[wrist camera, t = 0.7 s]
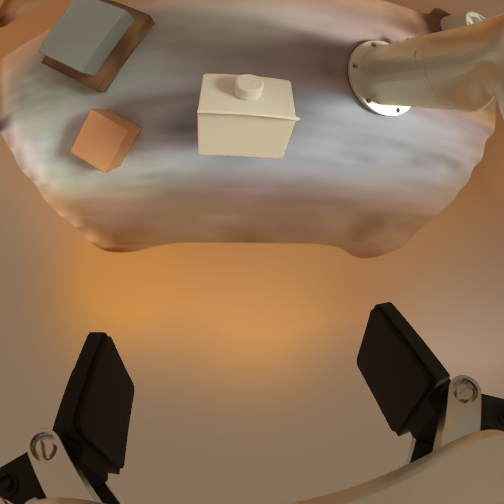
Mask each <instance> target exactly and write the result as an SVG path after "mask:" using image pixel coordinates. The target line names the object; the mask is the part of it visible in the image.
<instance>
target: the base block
mask: <svg viewBox="0 0 504 504" xmlns="http://www.w3.org/2000/svg"><path fill="white" fill-rule="evenodd" d="M99 1H102V2H105V3H108V4H111V5H113V6H116V7H119V8H121V9H124V10H126V11H127V12H128V13H129V14H130V15H131V16H132V17H133V19H134V20H135V21H134V22H133V24H132V25H131V26H130V27H129V29H128V30H127V31H126V32H125V34H124V35H123V36H122V37H121V39H120V40H119V41H118V43H117V44H116V46H115V47H114V48H113V50H112V51H111V52H110V54H109V55H108V57H107V58H106V60H105V61H104V63H103V64H102V66H101V67H100V69H99V70H98V72H97V73H96V75H95V76H92V75H89V74H86V73H82V72H80V71H78V70H76V69H74V68H72V67H70V66H68V65H66V64H64V63H62V62H59V61H57V60H55V59H53V58H51V57H49V56H47V55H45V57H44V59H43V60H42V62H41V63H43V64H45V65H47V66H49V67H51V68H53V69H55V70H57V71H59V72H61V73H63V74H65V75H67V76H69V77H71V78H73V79H75V80H77V81H79V82H81V83H83V84H85V85H87V86H89V87H91V88H93V89H94V90H97V91H102V92H106V91H107V89H108V88H109V86H110V84H111V83H112V81H113V80H114V78H115V76H116V75H117V73H118V72H119V70H120V69H121V67H122V66H123V65H124V63H125V62H126V60H127V59H128V57H129V56H130V55H131V53H132V52H133V51H134V49H135V48H136V47H137V45H138V44H139V43H140V41H141V40H142V39H143V37H144V36H145V35H146V34H147V32H148V31H149V30H150V29H151V28H152V26H153V25H154V24H155V22H154V21H153V20H152V18H151V17H150V15H147V14H145V13H143V12H140V11H138V10H135V9H133V8H130V7H128V6H125V5H122V4H119V3H117V2H114V1H110V0H99Z"/></svg>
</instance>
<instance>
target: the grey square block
mask: <svg viewBox="0 0 504 504" xmlns="http://www.w3.org/2000/svg"><path fill="white" fill-rule="evenodd" d="M134 21H135V20H134V19H133V17H132V16H131V15H130V14H129V13H128V12H127V11H126V10H124V9H121V8H119V7H116V6H113V5H111V4H108V3H105V2H102V1H99V0H73V2H72V3H71V4H70V6H69V7H68V8H67V9H66V11H65V12H64V13H63V15H62V16H61V18H60V19H59V20H58V22H57V23H56V25H55V26H54V28H53V29H52V31H51V32H50V34H49V35H48V37H47V38H46V40H45V41H44V43H43V45H42V46H41V48H40V50H39V51H38V52H40V53H42V54H44V55H47V56H49V57H51V58H53V59H55V60H57V61H59V62H62V63H64V64H66V65H68V66H70V67H72V68H74V69H76V70H78V71H80V72H82V73H86V74H89V75H92V76H95V75H96V73H97V72H98V70H99V69H100V67H101V66H102V64H103V63H104V61H105V60H106V58H107V57H108V55H109V54H110V52H111V51H112V50H113V48H114V47H115V46H116V44H117V43H118V41H119V40H120V39H121V37H122V36H123V35H124V34H125V32H126V31H127V30H128V29H129V27H130V26H131V25H132V24H133V22H134Z"/></svg>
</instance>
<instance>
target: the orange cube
mask: <svg viewBox="0 0 504 504" xmlns="http://www.w3.org/2000/svg"><path fill="white" fill-rule="evenodd" d="M140 130H141V128H139V127H137V126H136V125H134V124H132V123H131V122H129V121H127V120H125V119H124V118H122V117H120V116H119V115H117V114H115V113H113V112H112V111H110V110H98V109H91V111H90V113H89V115H88V116H87V118H86V120H85V122H84V124H83V126H82V128H81V130H80V132H79V134H78V136H77V138H76V140H75V143H74V145H73V147H72V149H71V151H70V152H71V153H73V154H75V155H76V156H78V157H80V158H81V159H83V160H84V161H86V162H88V163H89V164H91V165H93V166H94V167H96V168H97V169H99V170H101V171H102V172H104V173H107V172H109V171H111V170H112V169H114V168H116V167H118V166H120V165H121V163H122V162H123V160H124V158H125V156H126V154H127V152H128V151H129V149H130V147H131V145H132V144H133V142H134V140H135V138H136V137H137V135H138V133H139V132H140Z"/></svg>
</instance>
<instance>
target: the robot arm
mask: <svg viewBox="0 0 504 504" xmlns="http://www.w3.org/2000/svg"><path fill="white" fill-rule="evenodd" d="M353 66H354V68H353ZM348 77H349V81H350V85H351V87H352V89H353V91H354V93H355V95H356V96H357V98H358V99H359V100H360V101H361V102H362V104H363V105H364V106H366V107H367V108H368V109H369V110H371V111H373V112H375V113H377V114H380V115H384V116H397V115H401V114H403V113H405V112H406V111H407V110H408V109H409V108H410V107H418V108H432V109H443V110H452V111H460V112H476V111H479V110H481V109H483V108H484V107H486V106H487V105H488V104H489V103H490V102H491V101H492V100H493V99H494V97H496V99H497V101H498V104H499V107H500V110H501V114H502V116H503V119H504V14H502V15H498V16H495V17H492V18H489V19H486V20H483V21H480V22H477V23H473V24H470V25H467V26H463V27H458V28H454V29H449V30H445V31H440V32H435V33H431V34H427V35H422V36H418V37H414V38H411V39H409V38H407V39H406V40H403V41H400V42H396V43H393V44H390V43H387V42H385V41H380V40H371V41H367V42H364V43H362V44H360V45H359V46H357V47H356V48H355V49H354V51H353V52H352V54H351V56H350V58H349V62H348ZM366 100H367V102H366ZM357 365H358V367H359V369H360V371H361V373H362V375H363V377H364V379H365V380H366V382H367V384H368V386H369V388H370V390H371V392H372V394H373V395H374V397H375V399H376V401H377V403H378V405H379V407H380V409H381V411H382V413H383V414H384V416H385V418H386V420H387V422H388V424H389V426H390V428H391V430H392V431H396V433H397V435H398V436H401V435H403V434H405V433H408V432H411V434H412V436H413V437H412V441H411V444H410V448H409V452H408V455H407V458H406V461H405V465H404V466H403V467H401V468H399V469H397V470H394V471H392V472H390V473H388V474H385V475H383V476H380V477H378V478H375V479H372V480H370V481H367V482H365V483H362V484H359V485H356V486H353V487H350V488H347V489H344V490H341V491H338V492H334V493H331V494H327V495H323V496H320V497H316V498H312V499H307V500H303V501H298V502H294V503H289V504H504V399H501V398H497V397H493V396H489V395H485V394H481V389H480V387H479V385H478V383H477V382H476V381H475V380H474V379H472V378H471V377H468V376H464V375H460V376H457V377H455V378H453V379H452V381H451V380H450V379H449V377H450V375H449V373H448V372H447V371H446V369H445V368H444V367H443V366H442V364H441V363H440V361H439V360H438V359H437V358H436V356H435V355H434V354H433V352H432V351H431V350H430V349H429V347H428V346H427V345H426V344H425V342H424V341H423V340H422V339H421V337H420V336H419V335H418V334H417V333H416V331H415V330H414V329H413V328H412V326H411V325H410V324H409V323H408V322H407V321H406V319H405V318H404V317H403V316H402V315H401V313H400V312H399V311H398V310H397V309H396V308H395V306H394V305H393V304H392V303H390V302H387V303H382V304H377V305H375V307H374V309H373V310H371V312H370V316H369V320H368V323H367V327H366V330H365V334H364V337H363V341H362V344H361V347H360V350H359V354H358V357H357ZM133 396H134V385H133V382H132V380H131V378H130V377H129V375H128V373H127V371H126V368H125V367H124V364H123V362H122V360H121V358H120V356H119V354H118V351H117V349H116V347H115V345H114V343H113V340H112V338H111V337H109V336H107V334H106V333H103V332H100V333H99V332H91V333H89V335H88V336H87V339H86V341H85V343H84V346H83V348H82V350H81V353H80V355H79V358H78V360H77V363H76V366H75V368H74V369H73V371H72V373H71V376H70V379H69V381H68V384H67V387H66V390H65V392H64V395H63V398H62V401H61V404H60V407H59V410H58V413H57V416H56V420H55V423H54V426H53V430H50V429H47V428H41V429H38V430H36V431H35V432H33V433H32V434H31V436H30V437H29V439H28V441H27V452H26V453H25V454H23V455H21V456H20V457H18V458H16V459H14V460H13V461H11V462H9V463H8V464H6V465H4V466H2V467H1V468H0V504H124V503H123V501H122V500H121V499H120V497H119V496H118V495H117V493H116V492H115V491H114V489H113V488H112V487H111V485H110V484H109V482H108V481H107V479H108V473H113V474H119V471H120V468H123V466H124V461H125V451H126V443H127V435H128V427H129V421H130V414H131V408H132V402H133Z"/></svg>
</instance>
